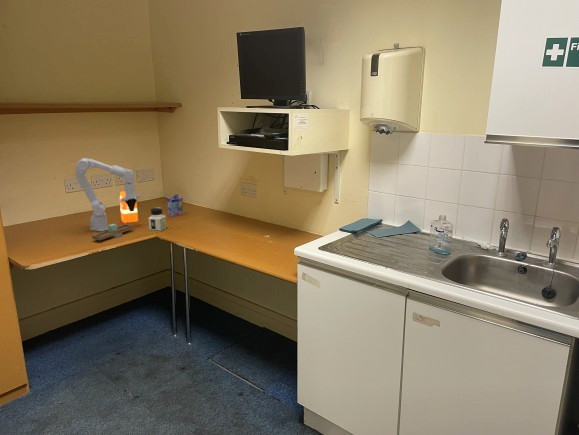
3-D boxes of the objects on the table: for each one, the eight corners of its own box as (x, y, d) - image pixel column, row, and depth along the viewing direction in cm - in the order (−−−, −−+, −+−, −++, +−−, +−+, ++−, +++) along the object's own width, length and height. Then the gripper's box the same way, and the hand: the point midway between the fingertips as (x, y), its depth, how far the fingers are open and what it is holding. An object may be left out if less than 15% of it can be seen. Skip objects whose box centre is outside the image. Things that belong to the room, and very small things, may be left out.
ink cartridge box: (173, 217, 304) (171, 196, 300) (167, 215, 307) (166, 195, 303) (184, 214, 312) (182, 193, 308) (178, 213, 315) (177, 192, 311)
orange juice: (138, 221, 293) (135, 191, 288) (124, 223, 289) (121, 192, 283) (134, 218, 300) (132, 189, 295) (121, 220, 295) (118, 190, 290)
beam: (91, 241, 251) (90, 235, 250) (124, 229, 274) (124, 223, 273) (101, 243, 248) (101, 236, 247) (135, 231, 271) (134, 225, 270)
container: (160, 230, 272) (159, 210, 269) (149, 230, 274) (147, 209, 270) (166, 227, 280) (165, 207, 276) (155, 226, 281) (153, 206, 278)
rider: (108, 232, 259) (107, 225, 258) (113, 230, 263) (112, 223, 262) (112, 232, 258) (111, 226, 257) (117, 230, 261) (116, 224, 260)
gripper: (126, 192, 265) (128, 214, 269) (143, 187, 278) (144, 209, 282) (117, 191, 268) (119, 213, 271) (134, 187, 281) (136, 208, 284)
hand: (131, 211), depth 277 cm, fingers closed
